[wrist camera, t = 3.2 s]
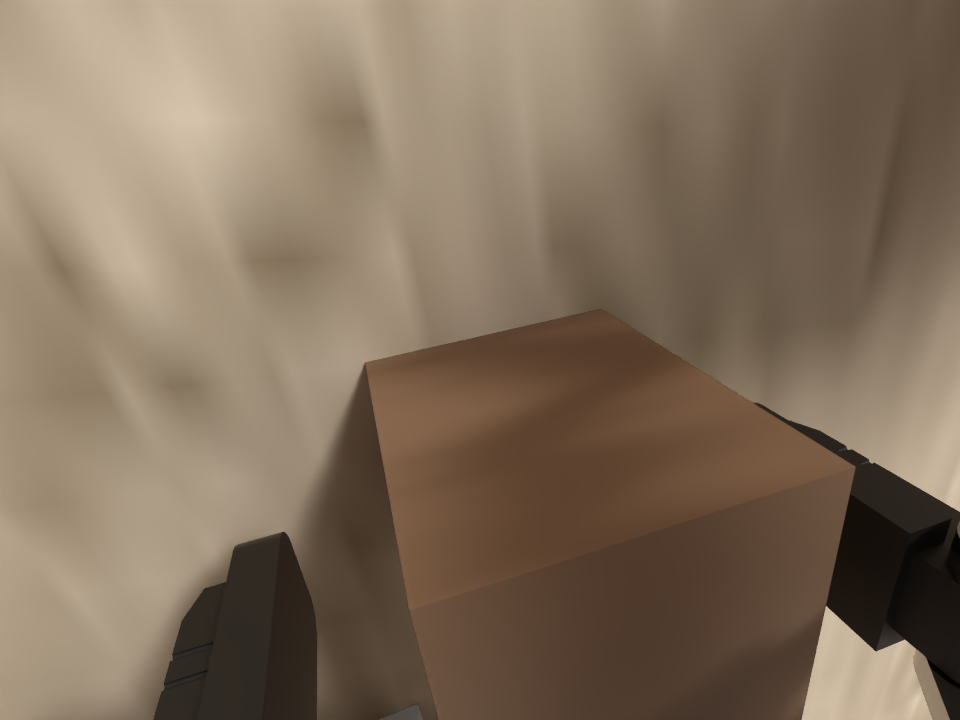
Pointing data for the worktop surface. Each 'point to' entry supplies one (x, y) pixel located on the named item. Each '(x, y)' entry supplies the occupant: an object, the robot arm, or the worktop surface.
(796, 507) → the walnut block
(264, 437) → the worktop surface
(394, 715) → the base block
